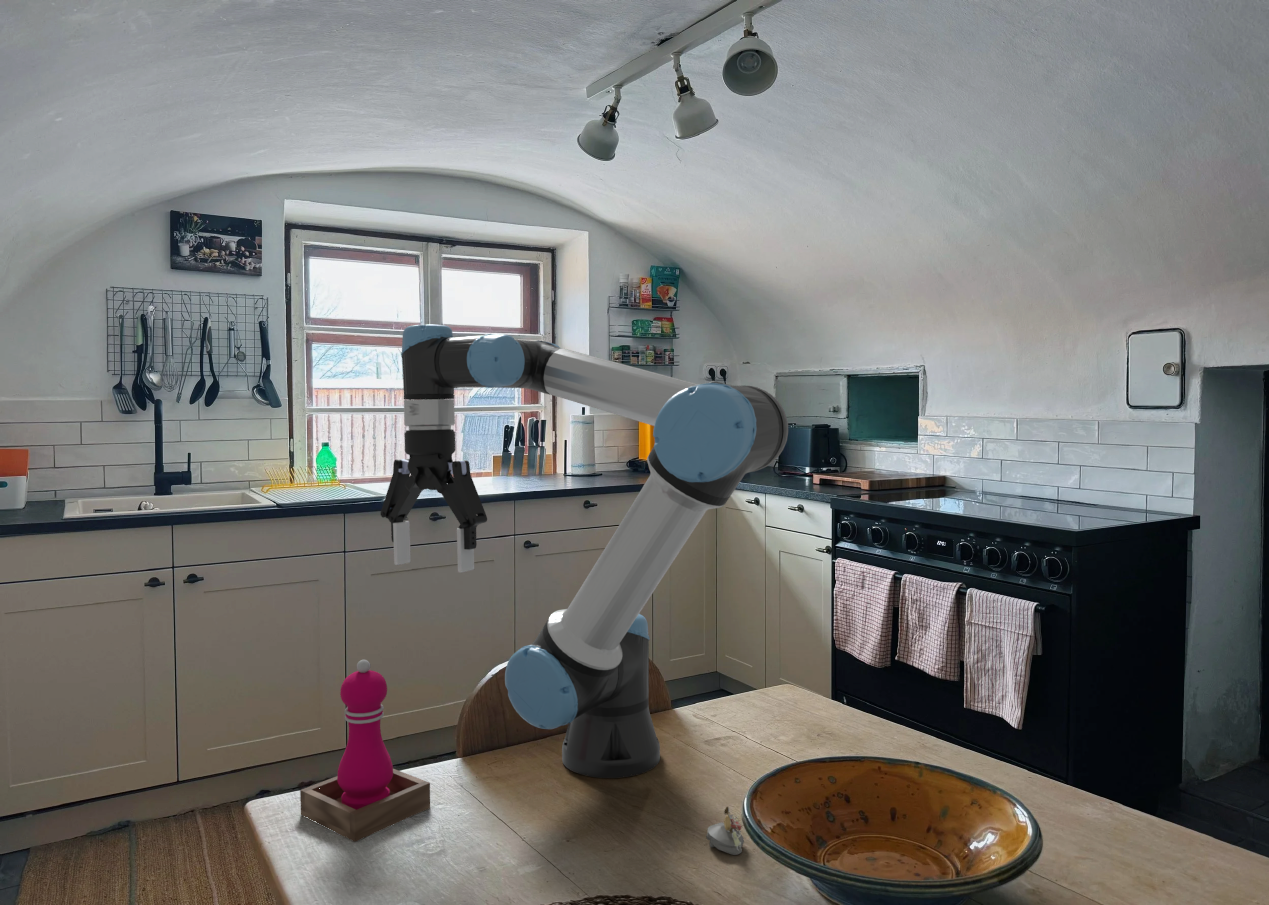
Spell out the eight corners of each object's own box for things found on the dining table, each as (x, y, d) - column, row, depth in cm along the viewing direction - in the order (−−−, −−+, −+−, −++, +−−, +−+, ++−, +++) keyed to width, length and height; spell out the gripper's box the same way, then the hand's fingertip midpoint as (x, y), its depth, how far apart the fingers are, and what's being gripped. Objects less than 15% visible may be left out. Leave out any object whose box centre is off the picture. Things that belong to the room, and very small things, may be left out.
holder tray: (430, 807, 123) (429, 782, 123) (355, 841, 113) (354, 814, 113) (375, 785, 130) (375, 761, 130) (300, 815, 121) (300, 789, 120)
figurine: (697, 842, 113) (704, 798, 112) (724, 833, 115) (730, 790, 114) (725, 866, 108) (732, 820, 107) (752, 856, 111) (759, 812, 110)
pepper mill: (377, 820, 117) (375, 669, 116) (327, 815, 119) (324, 666, 118) (402, 796, 125) (400, 653, 123) (354, 792, 126) (352, 651, 125)
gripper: (354, 428, 140) (359, 564, 141) (473, 428, 127) (476, 578, 128) (392, 427, 147) (395, 557, 148) (508, 427, 133) (511, 570, 134)
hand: (433, 567), depth 138 cm, fingers open, 13 cm apart
